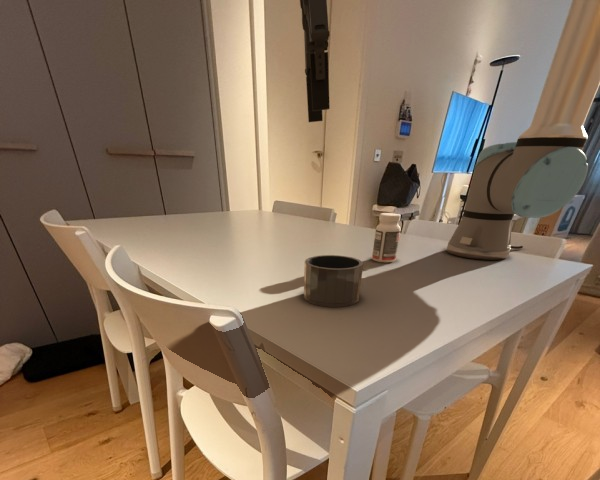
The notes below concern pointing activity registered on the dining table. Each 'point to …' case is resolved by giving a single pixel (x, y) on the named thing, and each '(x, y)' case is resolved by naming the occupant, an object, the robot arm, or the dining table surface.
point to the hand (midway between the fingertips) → (318, 116)
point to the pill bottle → (386, 238)
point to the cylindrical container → (332, 280)
